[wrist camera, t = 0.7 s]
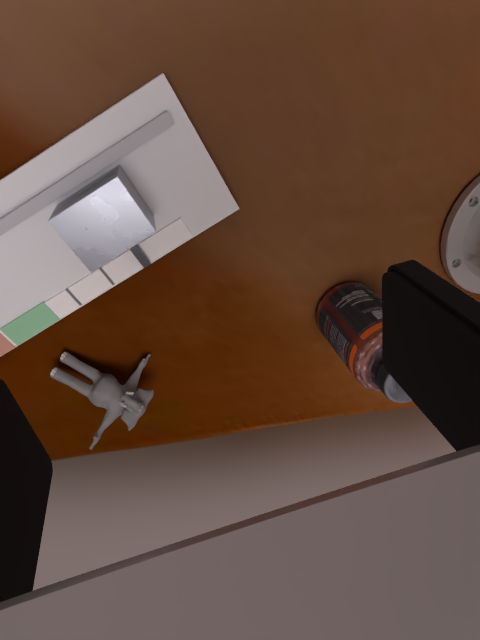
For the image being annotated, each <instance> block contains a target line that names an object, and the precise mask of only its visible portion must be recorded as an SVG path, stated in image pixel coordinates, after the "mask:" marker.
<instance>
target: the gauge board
mask: <svg viewBox="0 0 480 640" xmlns="http://www.w3.org/2000/svg"><path fill="white" fill-rule="evenodd" d="M117 165H120V166H121V167H122V169H123V170H124V172H125V173H126V175H127V176H128V178H129V179H130V181H131V182H132V183H133V185H134V186H135V188H136V189H137V191H138V192H139V194H140V195H141V197H142V198H143V200H144V201H145V202H146V204H147V205H148V207H149V208H150V210H151V211H152V213H153V214H154V220H155V227H156V232H155V233H154V234H152V235H151V236H149V237H147V238H146V239H144V240H143V241H141V242H139V243H138V244H137V245H138V246H139V248H140V249H141V250H142V252H143V253H144V254H145V256H146V257H147V258H148V260H149V261H150V262H151V263H153V262H154V261H156V260H158V259H159V258H161V257H162V256H164V255H166V254H167V253H169V252H171V251H172V250H174V249H175V248H177V247H179V246H180V245H182V244H183V243H185V242H187V241H188V240H190V239H192V238H193V237H195V236H196V235H198V234H200V233H201V232H203V231H204V230H206V229H208V228H209V227H211V226H213V225H214V224H216V223H217V222H219V221H221V220H222V219H224V218H225V217H227V216H229V215H230V214H232V213H234V212H235V211H237V210H238V209H239V207H238V205H237V204H236V202H235V200H234V198H233V196H232V195H231V193H230V191H229V189H228V187H227V186H226V184H225V182H224V180H223V179H222V177H221V175H220V173H219V171H218V170H217V168H216V166H215V164H214V163H213V161H212V159H211V157H210V155H209V154H208V152H207V150H206V148H205V146H204V145H203V143H202V141H201V139H200V138H199V136H198V134H197V132H196V130H195V129H194V127H193V125H192V123H191V122H190V120H189V118H188V116H187V114H186V113H185V111H184V109H183V107H182V106H181V104H180V102H179V100H178V98H177V97H176V95H175V93H174V91H173V89H172V88H171V86H170V84H169V82H168V81H167V79H166V77H165V75H164V73H161V74H160V75H158V76H157V77H155V78H154V79H152V80H151V81H149V82H148V83H146V84H145V85H143V86H142V87H140V88H139V89H137V90H136V91H134V92H133V93H131V94H130V95H128V96H126V97H125V98H123V99H122V100H120V101H119V102H117V103H116V104H114V105H113V106H111V107H110V108H108V109H107V110H105V111H104V112H102V113H101V114H99V115H98V116H96V117H95V118H93V119H92V120H90V121H89V122H87V123H86V124H84V125H82V126H81V127H79V128H78V129H76V130H75V131H73V132H72V133H70V134H69V135H67V136H66V137H64V138H63V139H61V140H60V141H58V142H57V143H55V144H54V145H52V146H51V147H49V148H48V149H46V150H45V151H43V152H42V153H40V154H39V155H37V156H35V157H34V158H32V159H31V160H29V161H28V162H26V163H25V164H23V165H22V166H20V167H19V168H17V169H16V170H14V171H13V172H11V173H10V174H8V175H7V176H5V177H4V178H2V179H1V180H0V357H1V356H2V355H4V354H6V353H7V352H9V351H10V350H12V349H14V348H15V347H17V346H18V345H20V344H22V343H23V342H25V341H27V340H28V339H30V338H31V337H33V336H35V335H36V334H38V333H40V332H41V331H43V330H44V329H46V328H48V327H49V326H51V325H52V324H54V323H56V322H57V321H59V320H61V319H62V318H64V317H65V316H67V315H69V314H70V313H72V312H73V311H75V310H77V309H78V308H80V307H82V306H83V305H85V304H86V303H88V302H90V301H91V300H93V299H94V298H96V297H98V296H99V295H101V294H103V293H104V292H106V291H107V290H109V289H111V288H112V287H114V286H116V285H117V284H119V283H120V282H122V281H124V280H125V279H127V278H128V277H130V276H132V275H133V274H135V273H137V272H138V271H140V270H141V269H143V266H142V265H141V264H140V262H139V261H138V260H137V258H136V257H135V256H134V254H133V253H132V252H131V250H130V249H128V250H127V251H125V252H123V253H122V254H120V255H119V256H117V257H115V258H114V259H112V260H111V261H109V262H107V263H106V264H104V265H103V266H101V267H99V268H98V269H96V270H95V271H93V272H90V271H89V270H88V268H87V267H86V266H85V265H84V264H83V263H82V261H81V260H80V259H79V258H78V257H77V255H76V254H75V253H74V252H73V251H72V250H71V248H70V247H69V246H68V245H67V244H66V242H65V241H64V240H63V239H62V238H61V237H60V235H59V234H58V233H57V232H56V231H55V229H54V228H53V227H52V226H51V225H50V224H49V222H48V220H49V218H50V216H51V215H52V213H53V211H54V209H55V208H56V206H57V204H58V203H60V202H61V201H63V200H65V199H66V198H68V197H69V196H71V195H72V194H74V193H75V192H77V191H79V190H80V189H82V188H83V187H85V186H86V185H88V184H89V183H91V182H92V181H94V180H96V179H97V178H99V177H100V176H102V175H103V174H105V173H106V172H108V171H110V170H111V169H113V168H114V167H116V166H117Z"/></svg>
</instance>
